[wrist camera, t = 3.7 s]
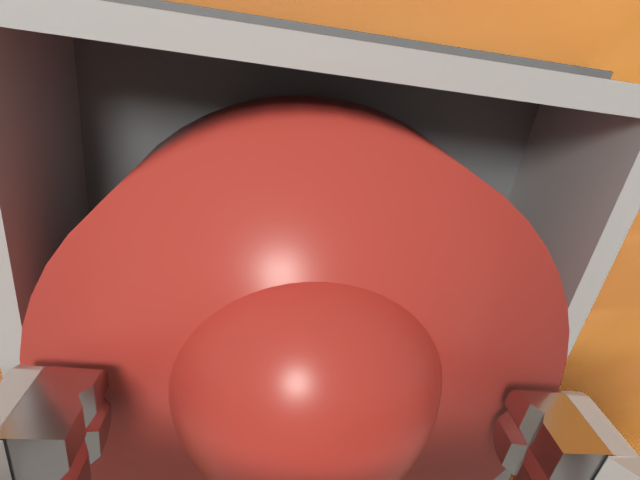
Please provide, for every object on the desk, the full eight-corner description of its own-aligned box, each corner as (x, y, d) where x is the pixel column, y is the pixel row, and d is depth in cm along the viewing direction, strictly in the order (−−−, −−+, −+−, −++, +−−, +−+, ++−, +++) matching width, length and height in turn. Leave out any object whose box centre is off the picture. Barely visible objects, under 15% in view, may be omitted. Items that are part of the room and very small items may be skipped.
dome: (111, 424, 14) (10, 666, 9) (80, 63, 10) (-168, 110, 4) (433, 433, 16) (514, 644, 10) (541, 125, 11) (786, 218, 6)
